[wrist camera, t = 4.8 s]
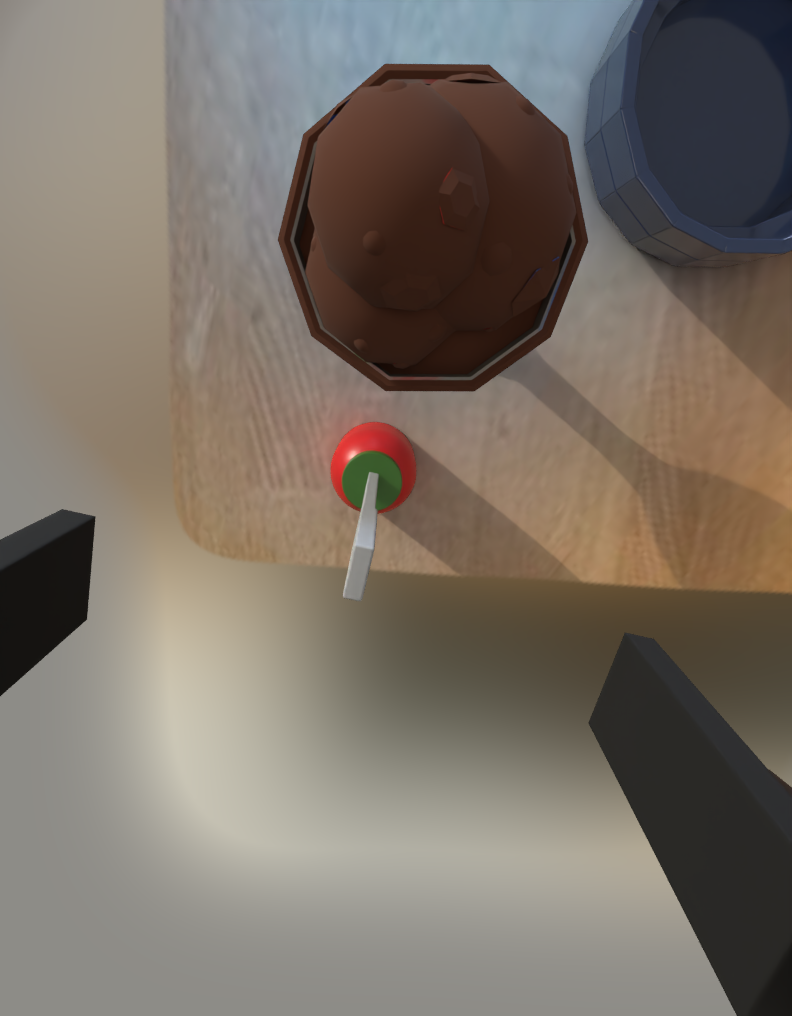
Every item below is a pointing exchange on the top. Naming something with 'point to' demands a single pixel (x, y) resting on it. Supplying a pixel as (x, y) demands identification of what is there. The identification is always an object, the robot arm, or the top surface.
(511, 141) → the ice cream bowl
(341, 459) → the red candy apple
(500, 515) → the top surface
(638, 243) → the dessert bowl
